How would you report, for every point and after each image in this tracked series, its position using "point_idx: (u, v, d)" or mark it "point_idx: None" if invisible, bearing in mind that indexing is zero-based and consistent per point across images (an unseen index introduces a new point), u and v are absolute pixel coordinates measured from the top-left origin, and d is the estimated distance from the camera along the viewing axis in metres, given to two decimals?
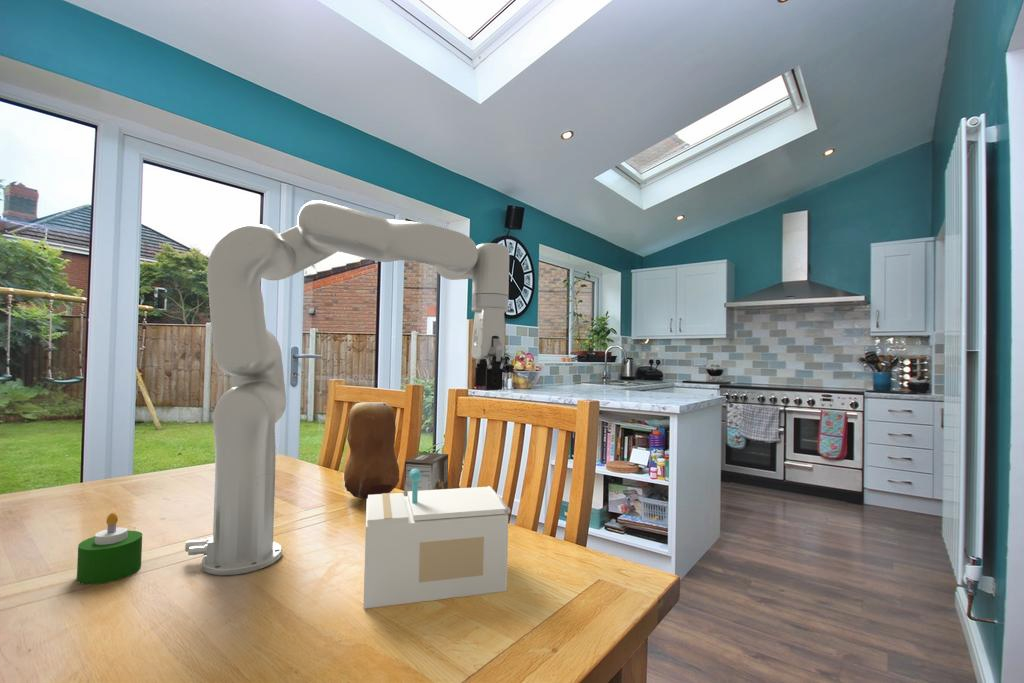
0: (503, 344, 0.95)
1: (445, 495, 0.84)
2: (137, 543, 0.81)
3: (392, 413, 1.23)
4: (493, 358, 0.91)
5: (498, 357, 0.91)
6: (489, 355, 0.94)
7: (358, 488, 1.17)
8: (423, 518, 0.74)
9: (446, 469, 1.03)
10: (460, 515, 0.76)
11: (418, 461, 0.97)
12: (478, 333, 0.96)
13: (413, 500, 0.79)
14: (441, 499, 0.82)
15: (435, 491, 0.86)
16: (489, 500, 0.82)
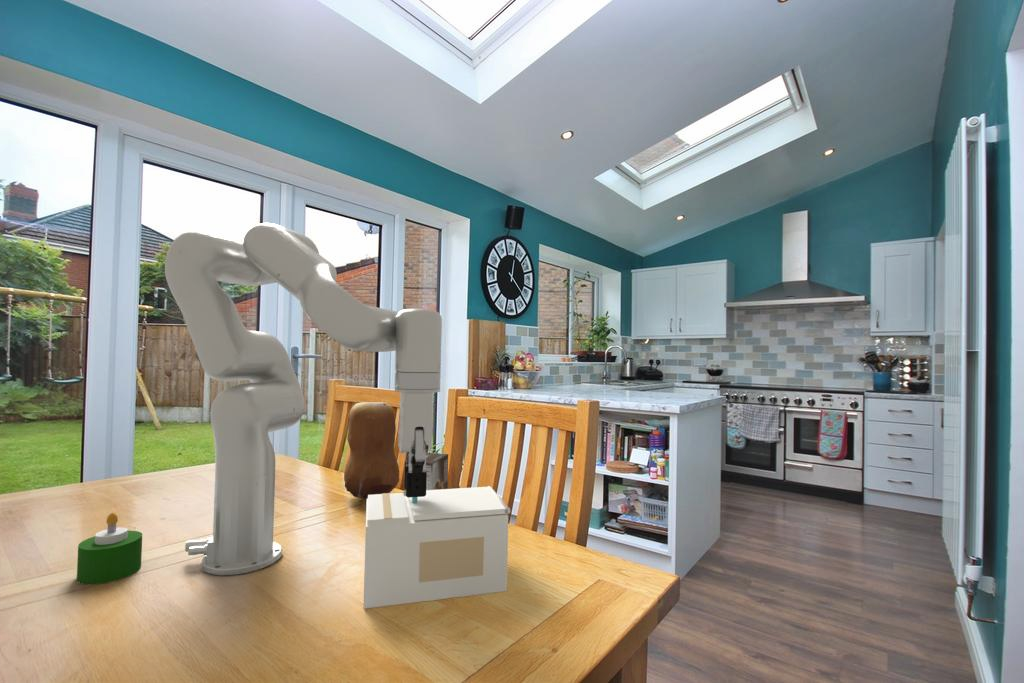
0: (430, 436, 0.76)
1: (445, 495, 0.84)
2: (137, 543, 0.81)
3: (392, 413, 1.23)
4: (412, 462, 0.76)
5: (418, 464, 0.75)
6: (411, 455, 0.77)
7: (358, 488, 1.17)
8: (423, 518, 0.74)
9: (446, 469, 1.03)
10: (460, 515, 0.76)
11: None
12: (400, 421, 0.77)
13: (413, 500, 0.79)
14: (441, 499, 0.82)
15: (435, 491, 0.86)
16: (489, 500, 0.82)
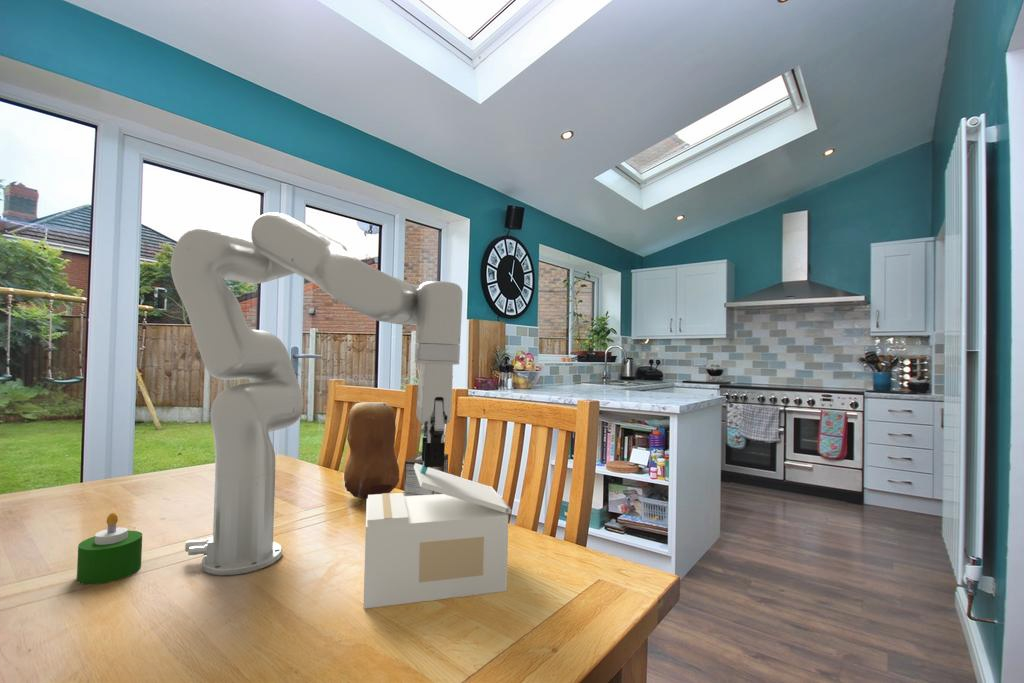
0: (449, 407, 0.77)
1: (450, 478, 0.84)
2: (137, 543, 0.81)
3: (392, 413, 1.23)
4: (431, 432, 0.76)
5: (437, 434, 0.76)
6: (430, 426, 0.78)
7: (358, 488, 1.17)
8: (430, 488, 0.74)
9: (446, 469, 1.03)
10: (464, 498, 0.76)
11: (418, 461, 0.97)
12: (420, 392, 0.78)
13: (422, 470, 0.80)
14: (447, 480, 0.82)
15: (441, 472, 0.87)
16: (491, 496, 0.82)
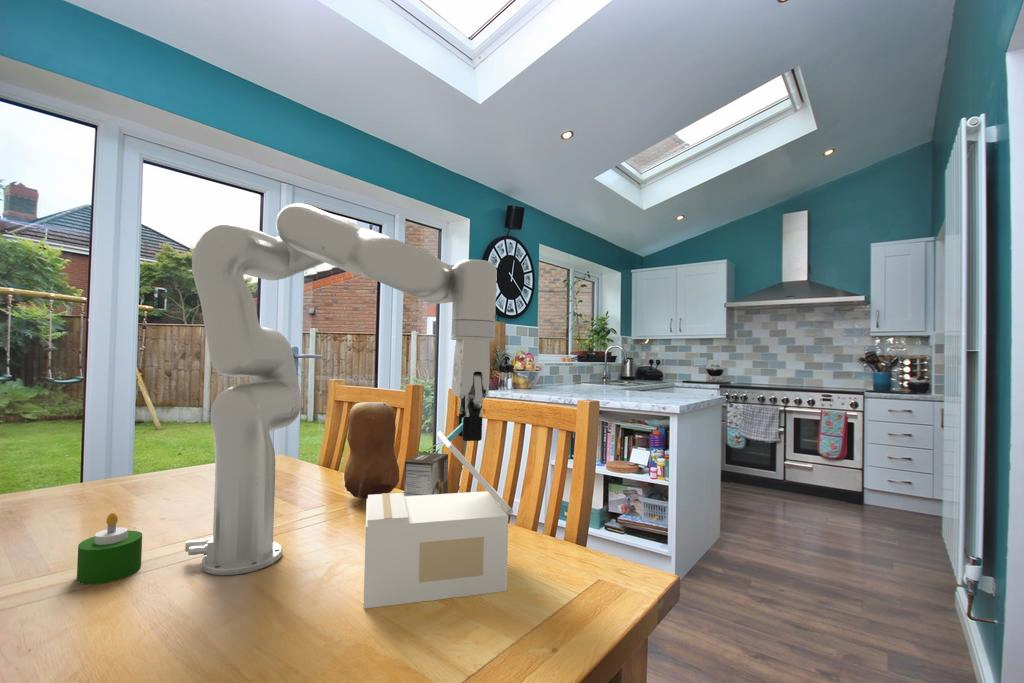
0: (487, 381, 0.79)
1: None
2: (137, 543, 0.81)
3: (392, 413, 1.23)
4: (470, 405, 0.78)
5: (476, 407, 0.78)
6: (468, 400, 0.80)
7: (358, 488, 1.17)
8: (454, 453, 0.76)
9: (446, 469, 1.03)
10: (478, 479, 0.77)
11: (418, 461, 0.97)
12: (458, 367, 0.80)
13: (449, 437, 0.81)
14: None
15: None
16: None
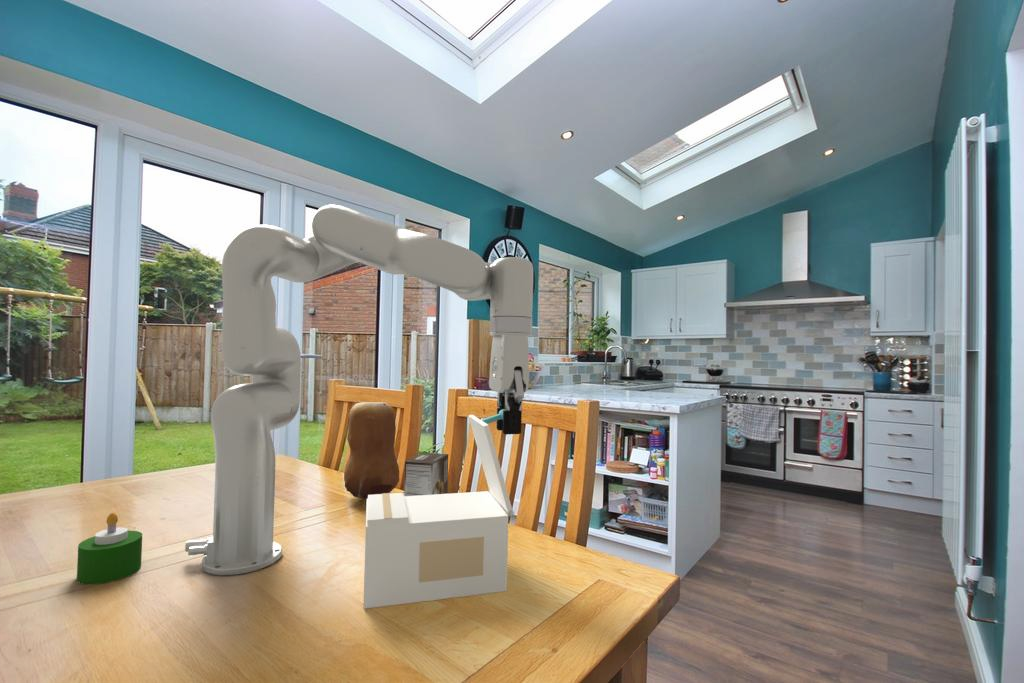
0: (527, 376, 0.81)
1: None
2: (137, 543, 0.81)
3: (392, 413, 1.23)
4: (511, 399, 0.80)
5: (517, 401, 0.80)
6: (508, 394, 0.82)
7: (358, 488, 1.17)
8: (487, 435, 0.77)
9: (446, 469, 1.03)
10: (497, 468, 0.77)
11: (418, 461, 0.97)
12: (498, 362, 0.82)
13: (483, 421, 0.83)
14: None
15: None
16: None
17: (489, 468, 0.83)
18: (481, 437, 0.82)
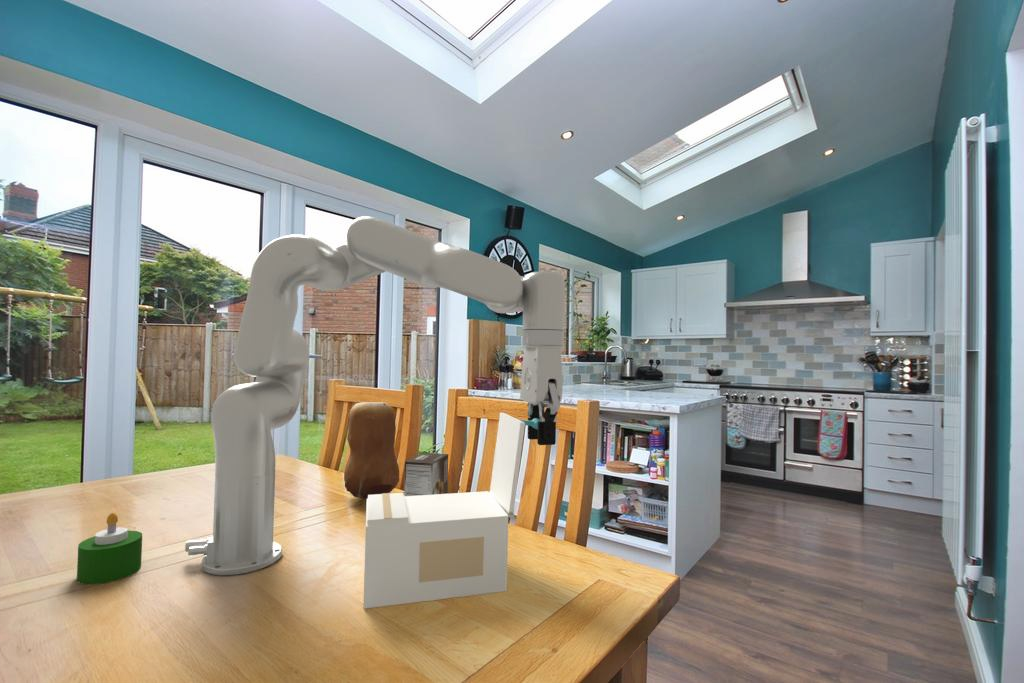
0: (561, 388, 0.83)
1: None
2: (137, 543, 0.81)
3: (392, 413, 1.23)
4: (547, 411, 0.81)
5: (553, 412, 0.81)
6: (543, 405, 0.83)
7: (358, 488, 1.17)
8: (520, 431, 0.79)
9: (446, 469, 1.03)
10: (516, 467, 0.78)
11: (418, 461, 0.97)
12: (531, 375, 0.84)
13: None
14: None
15: None
16: None
17: (504, 466, 0.84)
18: (509, 434, 0.83)
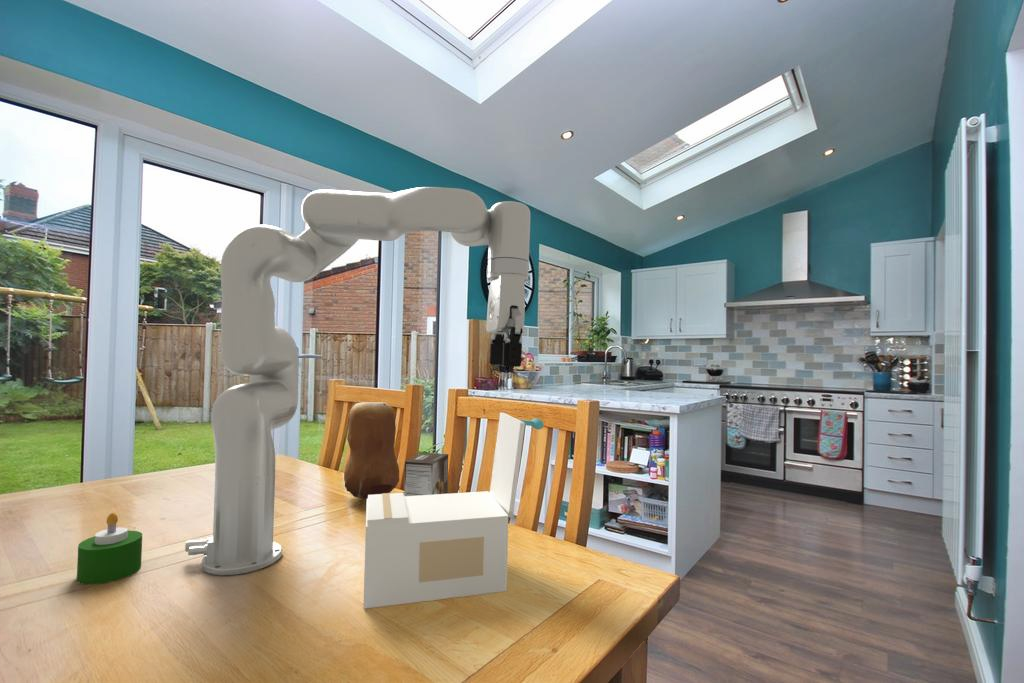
0: (523, 315, 0.83)
1: None
2: (137, 543, 0.81)
3: (392, 413, 1.23)
4: (512, 330, 0.80)
5: (517, 329, 0.80)
6: (507, 327, 0.83)
7: (358, 488, 1.17)
8: (520, 431, 0.79)
9: (446, 469, 1.03)
10: (516, 467, 0.78)
11: (418, 461, 0.97)
12: (494, 303, 0.85)
13: None
14: None
15: None
16: None
17: (504, 466, 0.84)
18: (509, 434, 0.83)
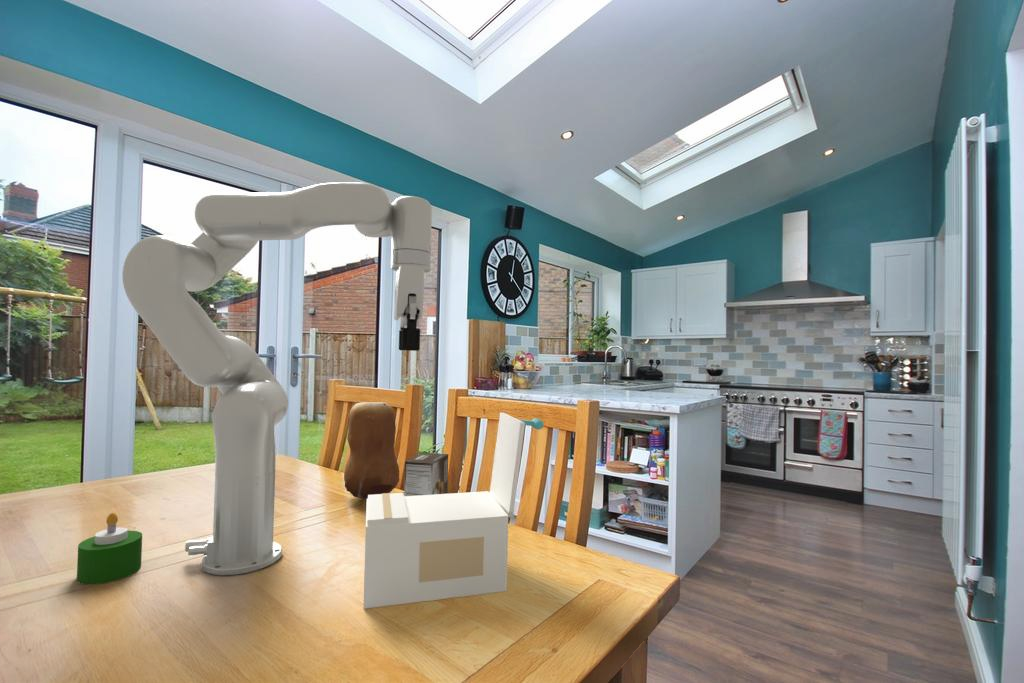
0: (421, 302, 0.89)
1: None
2: (137, 543, 0.81)
3: (392, 413, 1.23)
4: (407, 316, 0.86)
5: (412, 315, 0.85)
6: (405, 314, 0.88)
7: (358, 488, 1.17)
8: (520, 431, 0.79)
9: (446, 469, 1.03)
10: (516, 467, 0.78)
11: (418, 461, 0.97)
12: (396, 291, 0.90)
13: None
14: None
15: None
16: None
17: (504, 466, 0.84)
18: (509, 434, 0.83)
